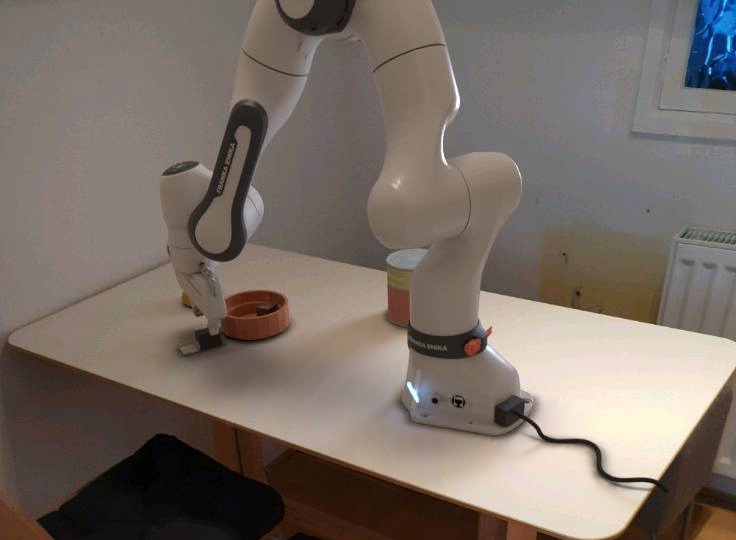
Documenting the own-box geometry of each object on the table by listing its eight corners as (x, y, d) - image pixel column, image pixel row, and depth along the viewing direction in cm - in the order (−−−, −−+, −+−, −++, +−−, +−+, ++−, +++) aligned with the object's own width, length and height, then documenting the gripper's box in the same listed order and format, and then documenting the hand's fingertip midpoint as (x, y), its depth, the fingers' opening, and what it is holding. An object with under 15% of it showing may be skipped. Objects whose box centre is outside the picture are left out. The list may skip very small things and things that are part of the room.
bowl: (303, 320, 169) (301, 297, 166) (261, 347, 160) (258, 324, 157) (250, 307, 176) (247, 285, 173) (207, 333, 167) (203, 310, 164)
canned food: (449, 322, 165) (451, 264, 158) (396, 330, 163) (394, 272, 156) (432, 300, 174) (433, 245, 166) (381, 308, 172) (379, 252, 165)
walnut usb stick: (267, 317, 170) (266, 301, 169) (279, 318, 169) (279, 303, 167) (246, 327, 164) (246, 311, 162) (259, 329, 163) (259, 313, 161)
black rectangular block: (217, 339, 164) (215, 324, 162) (222, 345, 162) (220, 330, 160) (179, 349, 162) (176, 334, 160) (184, 355, 159) (181, 340, 158)
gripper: (229, 270, 145) (239, 341, 154) (194, 235, 160) (205, 302, 168) (195, 277, 143) (207, 349, 152) (163, 242, 158) (176, 309, 166)
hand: (206, 324), depth 160 cm, fingers open, 8 cm apart
